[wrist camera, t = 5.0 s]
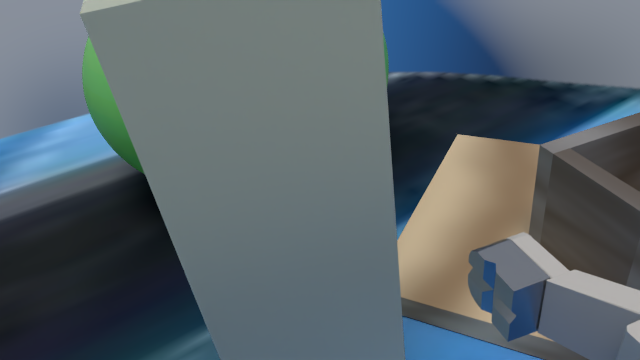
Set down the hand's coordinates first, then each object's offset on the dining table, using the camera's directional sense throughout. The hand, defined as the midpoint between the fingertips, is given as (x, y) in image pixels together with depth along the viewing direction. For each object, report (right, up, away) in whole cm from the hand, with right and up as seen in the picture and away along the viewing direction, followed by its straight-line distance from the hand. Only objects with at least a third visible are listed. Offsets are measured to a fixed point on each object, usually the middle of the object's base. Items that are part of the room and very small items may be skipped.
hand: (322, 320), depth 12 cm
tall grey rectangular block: (0, -5, +8) cm, 9 cm away
